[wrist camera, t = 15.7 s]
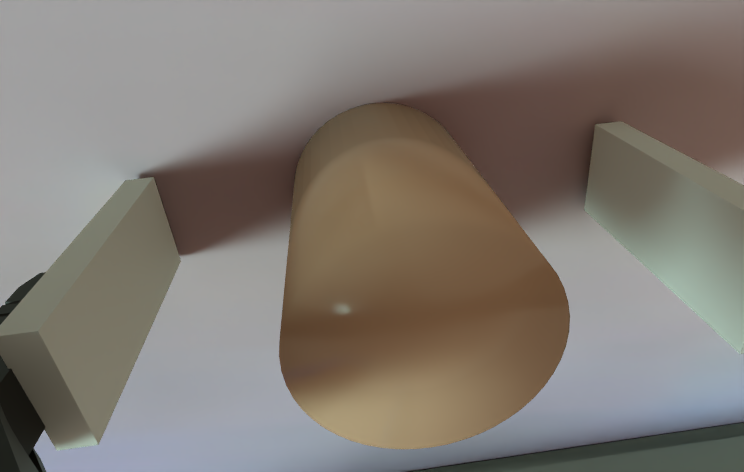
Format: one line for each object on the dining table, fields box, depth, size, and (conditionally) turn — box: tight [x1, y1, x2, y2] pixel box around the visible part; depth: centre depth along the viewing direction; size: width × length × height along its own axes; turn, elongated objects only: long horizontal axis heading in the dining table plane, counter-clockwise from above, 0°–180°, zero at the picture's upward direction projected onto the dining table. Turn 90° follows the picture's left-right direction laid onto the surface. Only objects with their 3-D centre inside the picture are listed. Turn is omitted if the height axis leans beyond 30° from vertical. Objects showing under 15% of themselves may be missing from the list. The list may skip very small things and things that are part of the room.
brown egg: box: [279, 103, 570, 449], centre depth 12 cm, size 5×5×7 cm
